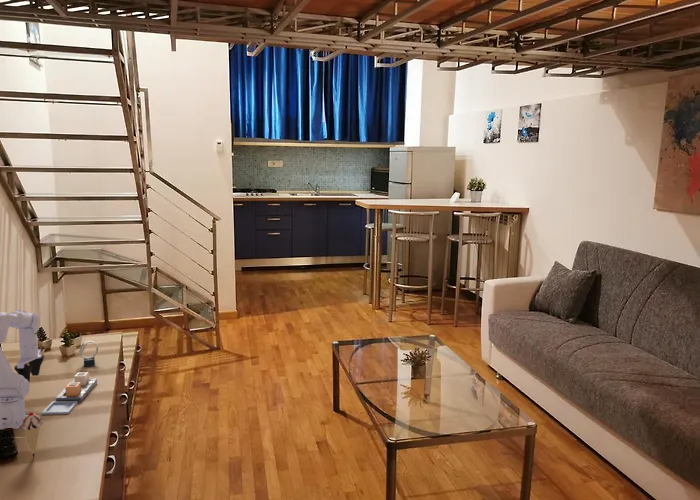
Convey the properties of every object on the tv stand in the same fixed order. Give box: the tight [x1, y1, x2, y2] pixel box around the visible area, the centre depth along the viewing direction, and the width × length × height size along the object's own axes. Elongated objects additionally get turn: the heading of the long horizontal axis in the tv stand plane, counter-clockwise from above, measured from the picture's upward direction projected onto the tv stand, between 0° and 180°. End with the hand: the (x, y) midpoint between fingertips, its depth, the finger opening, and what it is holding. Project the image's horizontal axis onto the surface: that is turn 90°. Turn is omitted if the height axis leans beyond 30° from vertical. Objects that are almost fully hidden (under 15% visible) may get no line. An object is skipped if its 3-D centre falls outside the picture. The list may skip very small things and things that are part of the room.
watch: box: [78, 339, 99, 368], centre depth 236 cm, size 6×8×11 cm
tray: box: [41, 400, 79, 416], centre depth 193 cm, size 9×9×1 cm
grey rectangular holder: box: [55, 377, 98, 403], centre depth 207 cm, size 18×9×2 cm, turn 8°
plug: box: [65, 381, 81, 396], centre depth 202 cm, size 4×4×6 cm
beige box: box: [73, 371, 90, 385], centre depth 212 cm, size 4×4×6 cm
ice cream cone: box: [20, 412, 44, 458], centre depth 161 cm, size 6×6×15 cm
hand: (30, 379), depth 195 cm, fingers open, 7 cm apart
